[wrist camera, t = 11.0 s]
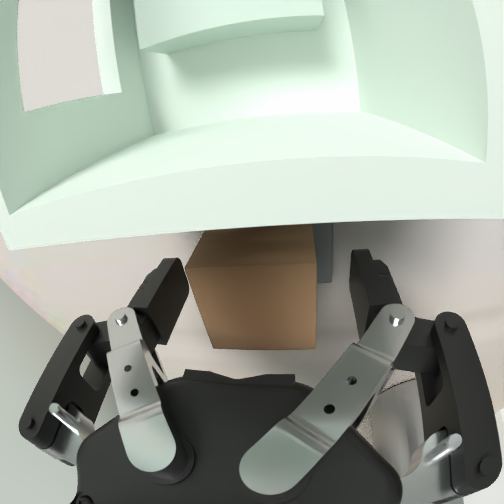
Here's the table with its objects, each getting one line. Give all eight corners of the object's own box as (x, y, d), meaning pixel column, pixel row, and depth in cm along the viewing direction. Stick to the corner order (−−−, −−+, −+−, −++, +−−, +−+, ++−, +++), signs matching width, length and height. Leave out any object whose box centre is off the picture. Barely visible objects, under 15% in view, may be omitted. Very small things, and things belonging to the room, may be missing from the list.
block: (307, 194, 14) (316, 262, 9) (310, 266, 16) (315, 349, 11) (221, 201, 15) (184, 268, 10) (236, 270, 17) (213, 348, 12)
